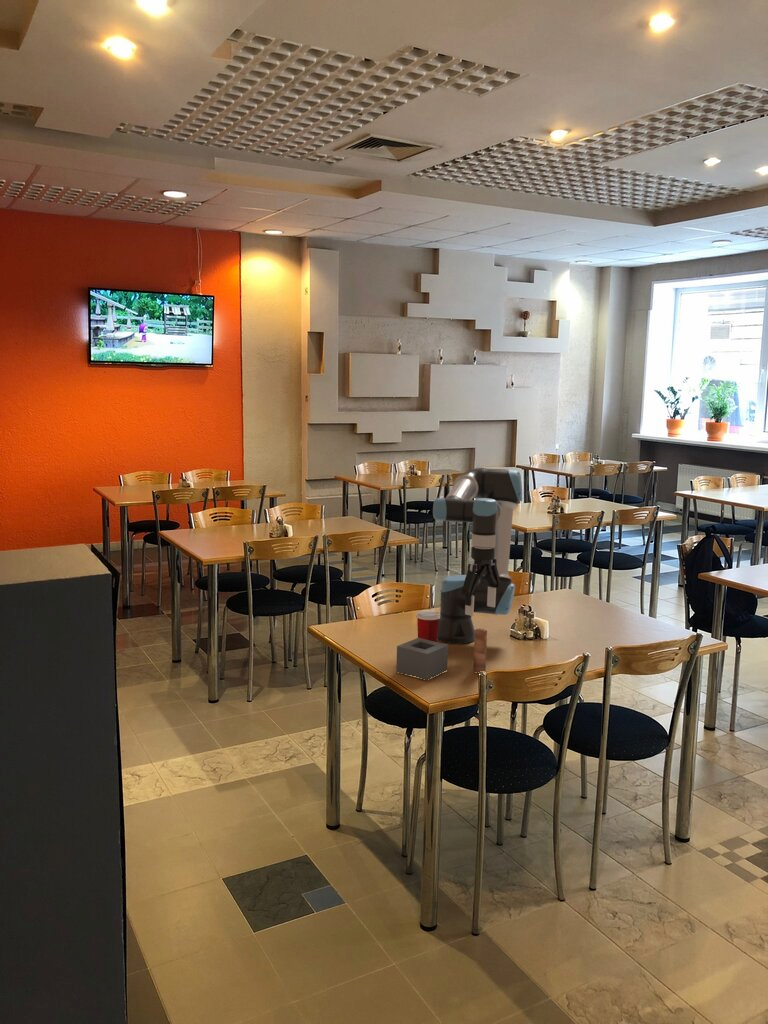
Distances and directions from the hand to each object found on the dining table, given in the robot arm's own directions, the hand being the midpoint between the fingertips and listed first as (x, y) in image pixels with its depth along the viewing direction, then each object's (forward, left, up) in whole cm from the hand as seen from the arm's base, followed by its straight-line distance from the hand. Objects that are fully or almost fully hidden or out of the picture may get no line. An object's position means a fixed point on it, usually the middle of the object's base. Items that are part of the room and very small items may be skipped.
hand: (480, 610), depth 279 cm
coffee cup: (-3, -23, -21) cm, 31 cm away
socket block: (+13, -14, -21) cm, 28 cm away
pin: (0, 0, -21) cm, 21 cm away
